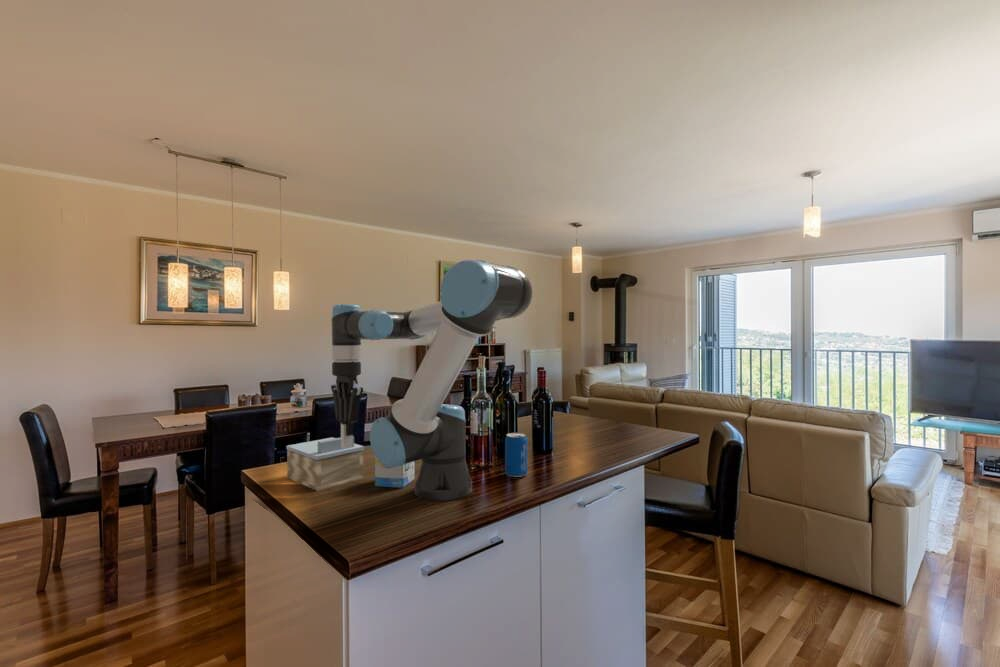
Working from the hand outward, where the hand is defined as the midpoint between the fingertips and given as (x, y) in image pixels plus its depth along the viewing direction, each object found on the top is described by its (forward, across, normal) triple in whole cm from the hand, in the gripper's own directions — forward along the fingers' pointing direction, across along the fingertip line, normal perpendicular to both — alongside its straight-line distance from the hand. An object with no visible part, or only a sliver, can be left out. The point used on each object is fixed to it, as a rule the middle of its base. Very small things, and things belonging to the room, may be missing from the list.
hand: (346, 446), depth 125 cm
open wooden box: (+11, +12, 0) cm, 16 cm away
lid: (+3, +12, 0) cm, 12 cm away
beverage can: (+11, -29, -38) cm, 49 cm away
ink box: (+11, -7, -11) cm, 17 cm away
